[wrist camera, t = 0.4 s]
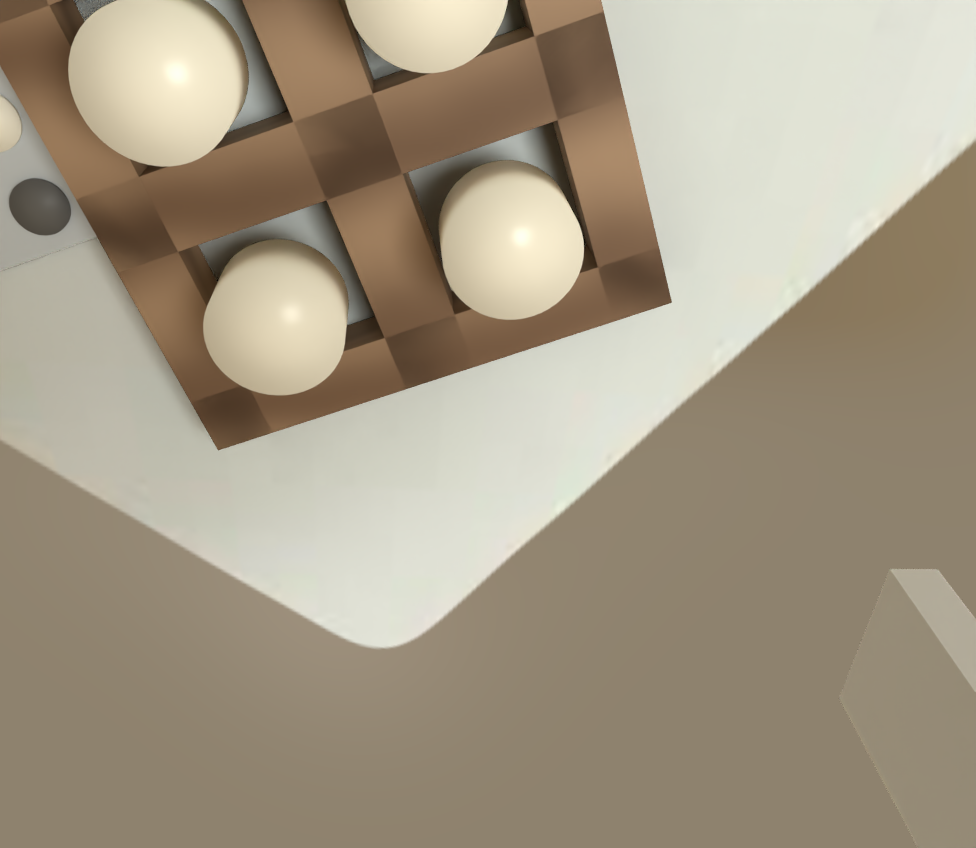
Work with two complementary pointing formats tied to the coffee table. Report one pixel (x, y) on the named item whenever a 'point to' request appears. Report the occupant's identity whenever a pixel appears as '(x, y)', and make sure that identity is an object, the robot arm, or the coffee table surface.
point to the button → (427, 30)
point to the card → (32, 191)
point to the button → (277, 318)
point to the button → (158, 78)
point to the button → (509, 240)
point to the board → (354, 192)
